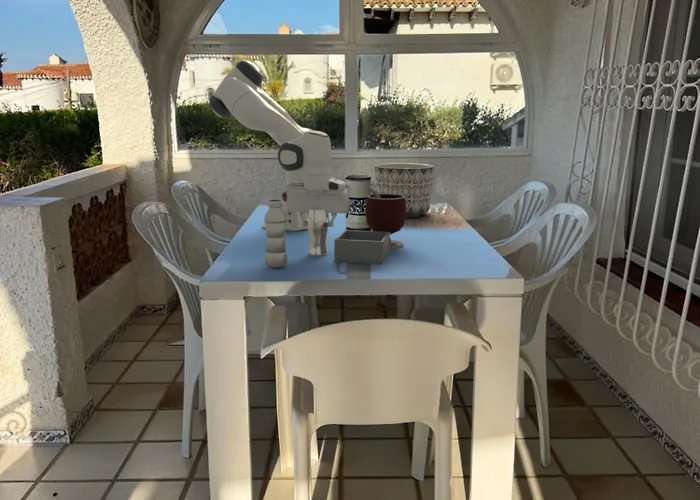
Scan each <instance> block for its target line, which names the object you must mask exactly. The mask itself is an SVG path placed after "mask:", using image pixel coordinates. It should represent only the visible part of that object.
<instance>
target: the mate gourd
mask: <svg viewBox="0 0 700 500" xmlns="http://www.w3.org/2000/svg"><path fill="white" fill-rule="evenodd" d="M366 188H368V189H369V191H370V192H371V194H367V198H366V202H365V220H366V225H368V227H369V228H370V231H378V232H390V236H392V235H393V234H395V233H397V232H400V231H401V230H402V228H404V226H405V223H406V219H407V218H406V200H405V196H404V195H399V194H379V193H378V192H377V191H376V188H374V187H372V186H370V185H367V187H366ZM403 247H404V243H403V242H402V241H399V240H396V239H395V240H394V239H391V238H390V244H389V250H396V249H400V248H403Z"/></svg>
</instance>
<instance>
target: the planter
mask: <svg viewBox="0 0 700 500" xmlns="http://www.w3.org/2000/svg"><path fill="white" fill-rule="evenodd" d="M434 168H435V166H434V165H432V164H428V163H427V164H426V163H416V162H415V163H411V162H409V163H407V162H394V163H393V162H390V163H388V162H387V163H379V164H375V165H374V180H375V181H374V182H375V190H376V191H377V192H378V193H379V194H399V195H404V196H405V200H406V219H407V218H416V217H419V216H420V215H421V214H426V213H428V212H429V211H431V199H432V190H433V178H434V170H435V169H434Z"/></svg>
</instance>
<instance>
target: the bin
mask: <svg viewBox="0 0 700 500" xmlns="http://www.w3.org/2000/svg"><path fill="white" fill-rule="evenodd" d="M390 239H391V235H390V232H378V231H372V230H354V229H353V230H352V229H351V230H350V229H344V230H343V231H342V232H340V234H339V235H338V236H337V237H336V238H334V241H333V242H334V252H333V253H334V263H351V264H365V265H366V264H368V265H369V264H370V265H384V263H385V261H386V260H387V258H388V256H389V254H390V249H389V244H390Z"/></svg>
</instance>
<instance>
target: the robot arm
mask: <svg viewBox="0 0 700 500" xmlns="http://www.w3.org/2000/svg"><path fill="white" fill-rule="evenodd" d="M263 79H264V77H263V74H262V72H261V69H260V68H259V67H258V66H257V65H256V64H255V63H253V62H251V61H248V60H246V59H242V60H241V61H239V62H238V63H236V64H235V66H234V67H233V68H232V69H231V70H230V71H229V72H228V73H227V74H226V75H225V76H224V77H223V79H222V80H221V82H220V84H219V85H218V86H217V88H216V90H215V91H214V93H211V96H210V98H209V100H208V103H209V106H210V108H211V110H212V111H213V113H214V114H215V115H216V116H218V117H219V118H222V119H225V120H230V119H232V118H235V119H236V120H237V122H239V123H240V124H241V125H243V126H244V127H246V128H247V129H249V130H253V131H259V132H260V131H261V132H266V133H267V134H268V136H270V137H271V138H272V139H273V140H274V141H275V142H276V143H277V144H278V145H279V148H278V151H277V161H278V163H279V166H280V167H281V168H282V169H283V170H285V171H286V173H285V174H286V188H285V191H284V192H283V193H282V194H281V198H282V199H281V205H282V207H281V209H282V210H283V212H284V213H285V214H286V217H287V221H286V230H285V231H294V232H295V231H296V232H298V231H302V230H308V225H307V214H308V209H315V210H321V209H325V212H326V213H329V214H331V215H330V217H331V219H330V220H329V221H328V227H329V228H333V227H334V221H335V219H336V218H337V216H338V215H337V214H347V213H348V212H349V211H350V209H351V208H350V207H351V206H350V205H351V204H350V197H349V192H348V191H347V189H346V186H347V183H346V181H343V180H341V179H337V178H335V177H333V176H332V169H331V163H332V143H331V139H330V136H329V135H328V134H327V133H326V132H323V131H319V130H314V129H313V130H312V129H311V128H307V127H302V126H301V125H299V124H298V123H297V122H296V121H295V120H294V119H293V118H292V117H291V115H290V114H289V113H288V111H287V110H286V109H285V108H283V106H281V105H280V104H279V103H278V102H277V101H276V100H275V99H274V98H272V97H271V96H270V95H269V94H268V93H266V92H265V91H264V90H262V89H261V88H262V83H263ZM259 87H260V88H259ZM262 228H263V229H266V228H265V222H264V223H263V224H262Z"/></svg>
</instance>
